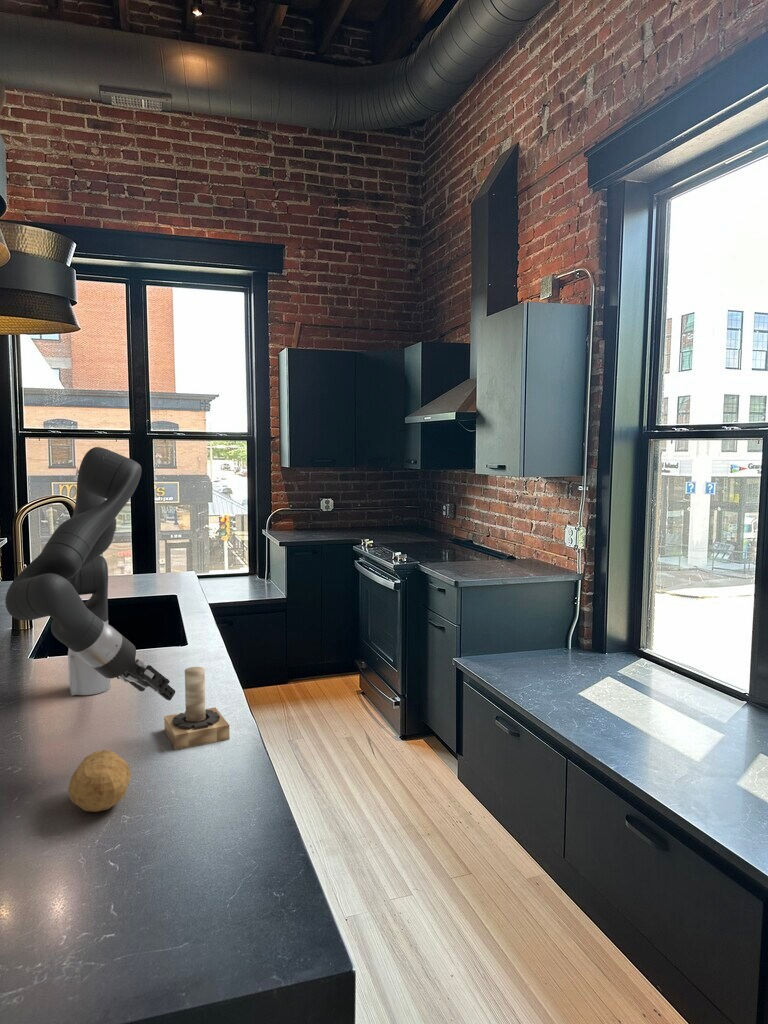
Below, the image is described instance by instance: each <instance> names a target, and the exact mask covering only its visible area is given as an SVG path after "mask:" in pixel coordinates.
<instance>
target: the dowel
mask: <svg viewBox="0 0 768 1024" xmlns="http://www.w3.org/2000/svg"><path fill="white" fill-rule="evenodd" d="M184 669H185V670H184V692H185V693H184V696H185V697H184V698H185V701H184V702H185V704H184V705H185V711H186V722H189V723H198V722H203V721H205V720H206V713H205V709H206V675H205V673H206V672H205V669H206V668H204V667H202V666H191V667H188V668H184Z"/></svg>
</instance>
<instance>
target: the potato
mask: <svg viewBox="0 0 768 1024" xmlns="http://www.w3.org/2000/svg"><path fill="white" fill-rule="evenodd" d="M131 774H132V773H131V769H130V765H128V763H127V761H125V760H124V759H123V758H122V757H121V756H120V755H119V754H117V753H116V752H114V751H112V750H106V749H104V750H98V751H94V752H92V753H90V754H88V755H87V756H85V757H84V758H83V760H82V761H81V762H80V763H79V765H78V766H77V768H76V769H75V771H74V773H73V775H72V777H71V778H70V782H69V784H68V790H67V791H68V794H69V799H70V800H71V802H72V803H73V804H75V805H76V806H78V808H80V809H81V810H82V811H85V812H94V813H97V812H102V811H106V810H109V809H111V808H112V807H114V806H115V805H116V804H117V803H119V802H120V801H121V800H123V799H124V798H125V796H126V794H127V791H128V787H129V784H130V781H131V780H132V777H131Z"/></svg>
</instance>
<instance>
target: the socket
mask: <svg viewBox="0 0 768 1024" xmlns="http://www.w3.org/2000/svg"><path fill="white" fill-rule="evenodd" d="M205 713H206V720H205V721H203V722H198V723H189V722H186V710H185V711H184V712H180V713H175V714H174V713H173V714H169V715H164V716H163V717H164V718H163V720H164V721H163V723H164V732H165V733H166V735H167V737H168V739H169V741H170V742H171V744H172V747H173V748H174V750H176V749H177V750H181V748H182V749H186V747H187V748H192V747H197V746H201V745H206V744H211V743H216V742H222V741H228V740H230V724H229V723H228V722H227V720H226V719H225V717H224V716H223V715H222V713H221V712H220V711H219V710H218V708H217V707H211V708H209V707H208V708H205Z"/></svg>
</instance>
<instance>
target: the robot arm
mask: <svg viewBox="0 0 768 1024" xmlns="http://www.w3.org/2000/svg"><path fill="white" fill-rule="evenodd" d="M141 477H142V466H141V464H140V463H138V462H137V461H135V460H133V459H131V458H129V457H126V456H124V455H121V454H119V453H117V452H115V451H113V450H110V449H108V448H105V447H101V446H95V447H92V448H90V449H89V450H88V451H87V452H86V453H85V454H84V456H83V457H82V460H81V463H80V466H79V468H78V472H77V480H76V496H75V505H74V510H73V512H72V516H71V517H70V518H68V519H67V520H65V521H63V522H62V523H61V524H60V525H59V526H58V527H57V528H56V529H55V531H54V532H53V533H52V534H51V536H50V538H49V539H48V541H47V542H46V544H45V545H44V547H43V549H42V550H41V552H40V554H39V555H37V557H35V559H34V560H32V561H31V562H30V563H29V564H28V565H27V566H26V567H25V568H24V569H23V570H22V571H21V572H19V574H18V575H17V576H16V577H15V578H14V580H13V581H12V582H11V583H10V584H9V587H8V589H7V591H6V594H5V599H4V600H5V602H4V603H5V608H6V610H7V612H8V614H9V615H10V616H11V617H12V618H14V619H16V620H19V621H23V622H25V621H26V622H27V621H33V620H34V621H35V620H38V619H43V618H45V617H49V618H50V617H51V618H52V622H51V625H50V631H51V633H52V635H53V637H54V638H55V639H56V640H58V642H60V643H62V644H63V646H64V645H65V646H66V647H67V648H68V651H67V661H68V665H67V666H68V668H67V669H68V687H69V688H68V689H69V693H70V696H90V695H96V694H101V693H104V692H106V691H108V690H109V689H110V688H111V679H115V678H116V679H118V680H121V681H123V682H124V683H129V684H130V685H131V686H132V687H134V688H135V689H136V690H138V692H144V691H145V690H146V689H147V688H149V689H151V690H152V691H154V692H155V693H157V694H159V696H161V697H162V698H163V699H165V700H167V701H171V700H172V699H173V698H174V695H175V694H176V690H175V689H174V688H173V687H172V686H170V685H169V683H170V682H171V681H170V680H169V679H168V678H166V677H165V676H164V675H163V674H162V673H161V672H159V671H158V670H156V669H155V668H154V667H153V666H152V665H150V664H147V665H146V664H145V663H144V661H142V660H140V659H138V658H136V655H137V649H136V648H137V647H136V645H134V644H133V643H132V642H131V641H130V640H129V639H127V638H126V637H125V636H124V635H122V634H121V633H120V632H119V631H117V629H115V628H114V627H113V626H112V625H110V624H109V606H108V603H109V602H108V601H109V600H108V594H109V593H108V592H109V567H108V563H107V559H106V558H105V557H104V556H102V554H104V553H105V552H106V551H107V550H108V549H109V548H110V546H111V544H112V542H113V540H114V536H115V532H116V529H117V519H116V518H117V517H118V515H119V514H120V512H121V511H122V510H123V508H124V507H125V506H126V505H127V504H128V502H129V501H130V500H131V498H132V496H133V495H134V493H135V492H136V490H137V487H138V485H139V482H140V479H141ZM83 595H91V597H90V598H89V599H87V600H86V601H85V602H84V601H83V599H82V598H81V596H83Z"/></svg>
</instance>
